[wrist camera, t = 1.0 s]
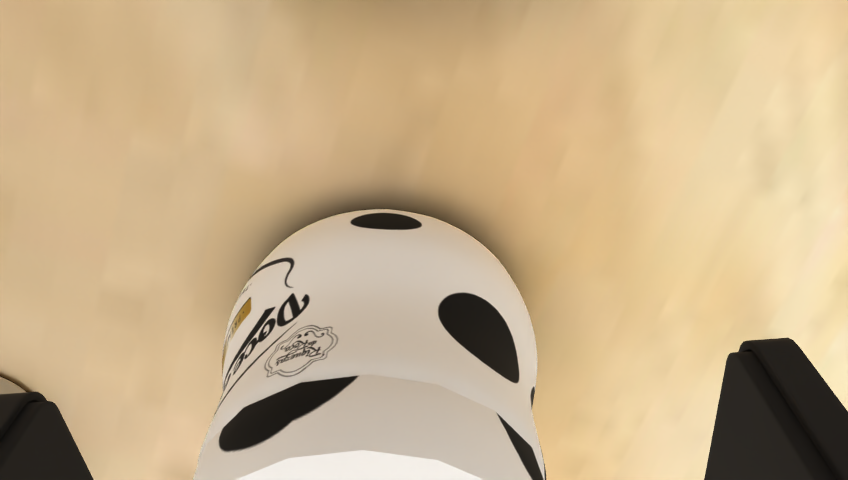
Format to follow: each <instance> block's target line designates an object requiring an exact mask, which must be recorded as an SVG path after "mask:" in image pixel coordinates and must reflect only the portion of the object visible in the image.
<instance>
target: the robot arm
mask: <svg viewBox="0 0 848 480" xmlns="http://www.w3.org/2000/svg"><path fill="white" fill-rule="evenodd" d="M0 480H93V478H92V476H91V474H90V472H89V470H88V468H87V466H86V463H85V461H84V459H83V457H82V455H81V453H80V451H79V449H78V447H77V445H76V443H75V441H74V439H73V437H72V435H71V433H70V431H69V429H68V427H67V425H66V423H65V421H64V419H63V417H62V415H61V413H60V411H59V409H58V407H57V406H56V404H55V403H53V402H51V401H47V400H46V399H45V397H44V396H43V395H42V394H40V393H39V392H24V393H10V394H0ZM704 480H848V411H847V410H846V409H845V407H844V406H843V405H842V403H841V402H840V401H839V399H838V398H837V397H836V395H835V394H834V393H833V391H832V390H831V389H830V387H829V386H828V385H827V383H826V382H825V381H824V379H823V378H822V377H821V375H820V374H819V373H818V371H817V370H816V369H815V367H814V366H813V365H812V363H811V362H810V361H809V359H808V358H807V357H806V355H805V354H804V353H803V351H802V350H801V349H800V347H799V346H798V345H797V344H796V343H795V342H794V341H793V340H792V339H789V338H779V339H765V340H751V341H745V342H743V343H742V344H741V346H740V349H739V352H735V353H730V354H729V355H728V358H727V361H726V366H725V372H724V377H723V383H722V388H721V393H720V399H719V404H718V409H717V415H716V420H715V426H714V431H713V436H712V442H711V447H710V452H709V458H708V463H707V468H706V474H705V479H704Z"/></svg>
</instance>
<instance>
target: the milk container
mask: <svg viewBox="0 0 848 480" xmlns="http://www.w3.org/2000/svg"><path fill="white" fill-rule="evenodd" d="M222 376H223V393H222V396H221V399H220V402H219V405H218V407H217V410H216V412H215V415H214V417H213V420H212V422H211V424H210V427H209V429H208V432H207V434H206V437H205V440H204V442H203V445H202V448H201V451H200V455H199V459H198V465H197V469H196V472H195V475H194V478H193V480H546V471H545V464H544V460H543V455H542V451H541V447H540V443H539V439H538V435H537V431H536V427H535V423H534V419H533V413H532V404H533V398H534V393H535V387H536V377H537V348H536V340H535V334H534V330H533V327H532V323H531V319H530V316H529V313H528V310H527V308H526V305H525V303H524V300H523V298H522V296H521V294H520V292H519V290H518V288H517V287H516V285H515V283H514V282H513V280H512V278H511V277H510V275H509V274H508V272H507V271H506V269H505V268H504V266H503V265H502V264H501V263H500V261H499V260H498V259H497V258H496V257H495V256H494V255H493V254H492V253H491V252H490V251H489V250H488V249H487V248H486V247H485V246H484V245H483V244H481V243H480V242H479V241H477V240H476V239H475V238H473V237H472V236H470V235H469V234H467V233H465V232H464V231H462V230H460V229H458V228H456V227H454V226H452V225H450V224H448V223H446V222H443V221H441V220H438V219H436V218H434V217H430V216H426V215H422V214H417V213H412V212H406V211H399V210H391V209H371V210H362V211H354V212H348V213H343V214H338V215H334V216H331V217H328V218H325V219H322V220H320V221H317V222H315V223H313V224H310V225H308V226H306V227H304V228H302V229H301V230H299V231H297V232H295V233H294V234H292V235H291V236H289V237H288V238H286V239H285V240H284V241H283V242H282V243H280V244H279V245H278V246H277V247H276V248H275V249H274V250H273V251H272V252H271V253H270V254H269V255H268V256H267V257H266V258H265V259H264V260H263V262H262V263H261V264H260V265H259V267H258V268H257V269H256V270H255V272H254V273H253V274H252V276H251V277H250V279H249V280H248V282H247V283H246V285H245V286H244V288H243V290H242V291H241V293H240V295H239V297H238V299H237V301H236V304H235V306H234V308H233V311H232V313H231V316H230V319H229V322H228V326H227V330H226V335H225V339H224V346H223V359H222Z"/></svg>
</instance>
